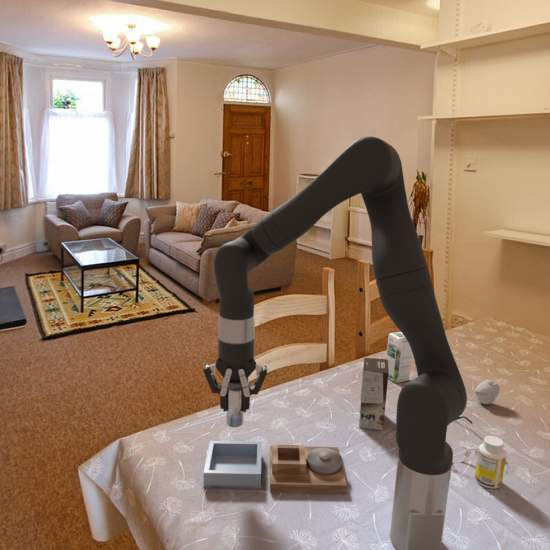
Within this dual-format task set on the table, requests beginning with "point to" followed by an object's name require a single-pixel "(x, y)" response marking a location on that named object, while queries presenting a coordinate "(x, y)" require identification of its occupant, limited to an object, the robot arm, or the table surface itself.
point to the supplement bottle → (490, 462)
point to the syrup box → (398, 357)
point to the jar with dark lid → (234, 404)
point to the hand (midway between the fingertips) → (235, 409)
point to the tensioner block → (306, 469)
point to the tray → (233, 465)
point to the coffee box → (373, 393)
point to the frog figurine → (487, 391)
